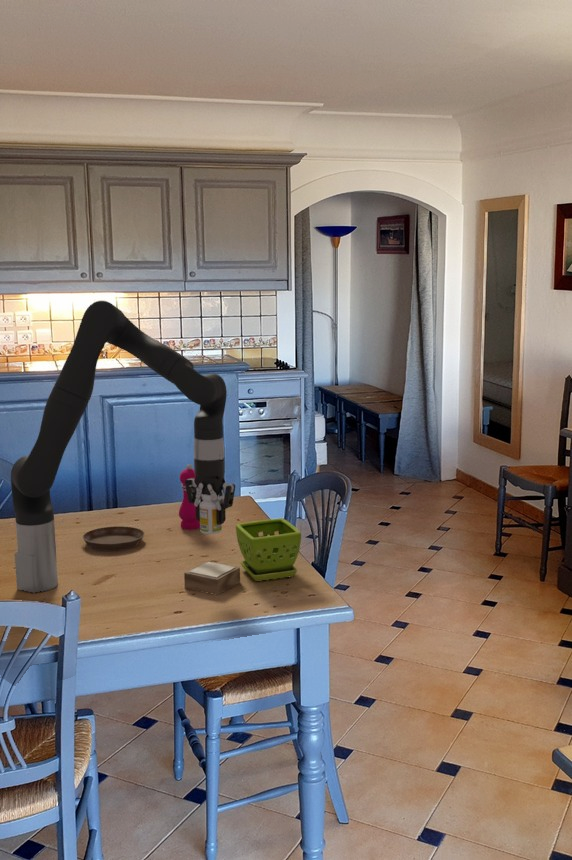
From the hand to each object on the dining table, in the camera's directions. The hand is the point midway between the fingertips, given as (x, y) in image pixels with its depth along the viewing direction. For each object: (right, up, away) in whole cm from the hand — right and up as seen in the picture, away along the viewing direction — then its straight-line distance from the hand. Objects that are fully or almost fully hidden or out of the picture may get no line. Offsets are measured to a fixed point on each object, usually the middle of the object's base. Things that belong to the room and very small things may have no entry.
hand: (210, 521), depth 215 cm
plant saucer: (-32, -11, +37) cm, 50 cm away
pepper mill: (-11, -7, +53) cm, 54 cm away
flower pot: (+14, -15, +11) cm, 23 cm away
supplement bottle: (0, -3, +1) cm, 3 cm away
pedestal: (0, -16, +3) cm, 17 cm away
